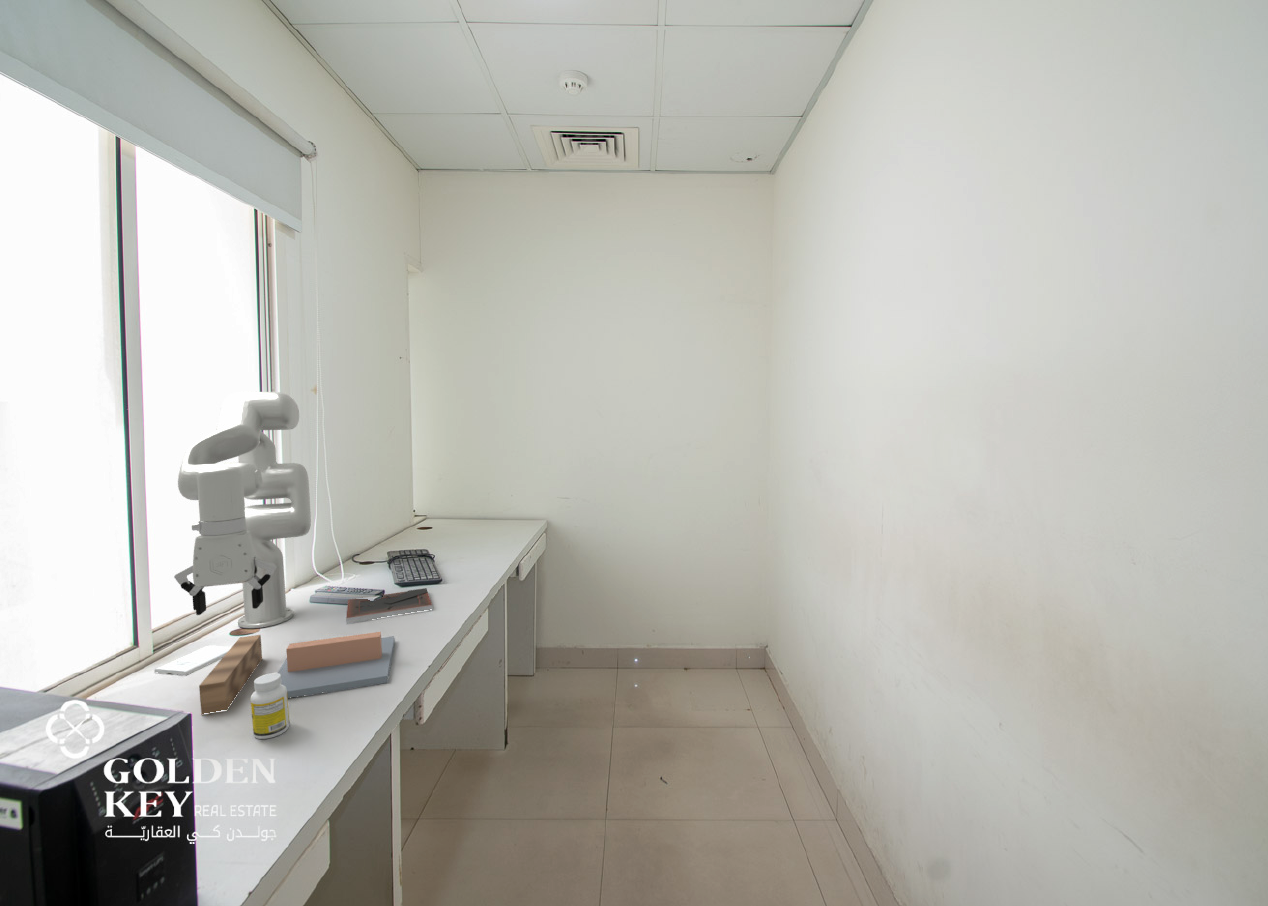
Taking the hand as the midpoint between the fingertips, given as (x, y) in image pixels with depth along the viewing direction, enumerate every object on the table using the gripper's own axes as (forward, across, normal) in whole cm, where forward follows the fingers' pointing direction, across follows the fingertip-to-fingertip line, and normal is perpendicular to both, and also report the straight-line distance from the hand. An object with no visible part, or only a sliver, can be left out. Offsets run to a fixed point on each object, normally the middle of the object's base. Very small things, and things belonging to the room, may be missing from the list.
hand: (229, 609), depth 116 cm
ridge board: (+16, +19, 0) cm, 25 cm away
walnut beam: (+16, 0, 0) cm, 16 cm away
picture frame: (+16, +27, +38) cm, 50 cm away
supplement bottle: (+16, +12, -23) cm, 30 cm away
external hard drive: (+17, -12, +16) cm, 26 cm away
